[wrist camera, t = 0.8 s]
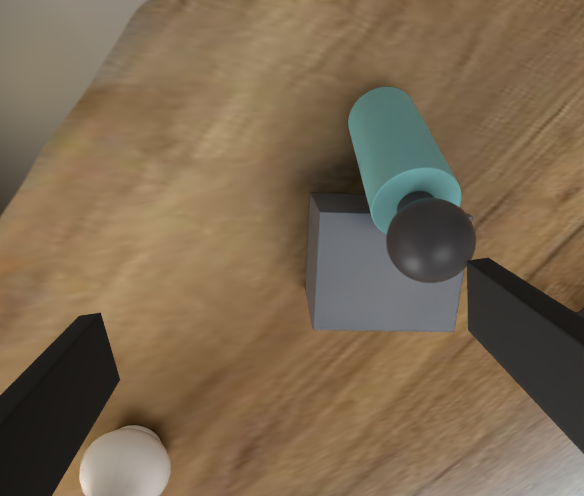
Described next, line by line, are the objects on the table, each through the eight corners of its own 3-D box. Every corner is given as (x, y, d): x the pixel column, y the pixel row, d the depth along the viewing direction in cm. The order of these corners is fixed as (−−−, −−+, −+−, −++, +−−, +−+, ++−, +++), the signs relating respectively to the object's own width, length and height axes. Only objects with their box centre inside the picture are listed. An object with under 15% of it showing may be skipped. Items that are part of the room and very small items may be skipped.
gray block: (309, 192, 41) (319, 212, 33) (432, 196, 42) (473, 216, 33) (305, 289, 44) (312, 330, 36) (419, 291, 45) (454, 332, 36)
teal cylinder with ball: (348, 87, 39) (413, 62, 21) (413, 89, 39) (533, 67, 21) (338, 219, 42) (387, 295, 24) (398, 221, 43) (490, 297, 25)
